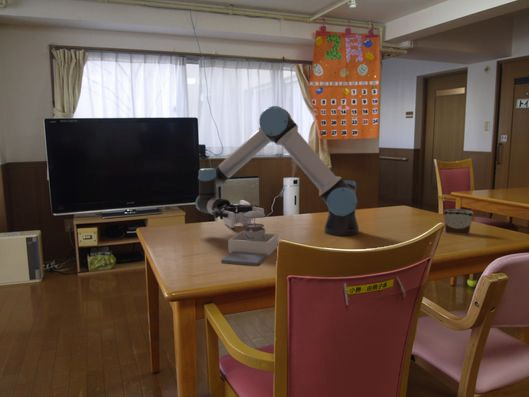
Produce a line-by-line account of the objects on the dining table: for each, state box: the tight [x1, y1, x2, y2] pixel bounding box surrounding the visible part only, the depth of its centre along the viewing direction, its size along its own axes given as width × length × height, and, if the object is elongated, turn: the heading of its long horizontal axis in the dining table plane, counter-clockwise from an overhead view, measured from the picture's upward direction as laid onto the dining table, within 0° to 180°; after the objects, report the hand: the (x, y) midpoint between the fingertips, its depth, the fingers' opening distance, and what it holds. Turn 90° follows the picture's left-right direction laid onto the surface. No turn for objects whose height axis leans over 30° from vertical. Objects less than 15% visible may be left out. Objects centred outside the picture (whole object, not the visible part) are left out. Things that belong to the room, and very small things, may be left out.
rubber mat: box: [220, 251, 268, 267], centre depth 149 cm, size 13×11×1 cm
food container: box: [442, 208, 475, 236], centre depth 187 cm, size 12×6×10 cm, turn 65°
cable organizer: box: [223, 199, 252, 229], centre depth 204 cm, size 15×11×12 cm
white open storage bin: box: [227, 231, 279, 257], centre depth 161 cm, size 15×13×5 cm
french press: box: [243, 184, 266, 242], centre depth 160 cm, size 10×12×25 cm
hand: (248, 214), depth 161 cm, fingers open, 13 cm apart
